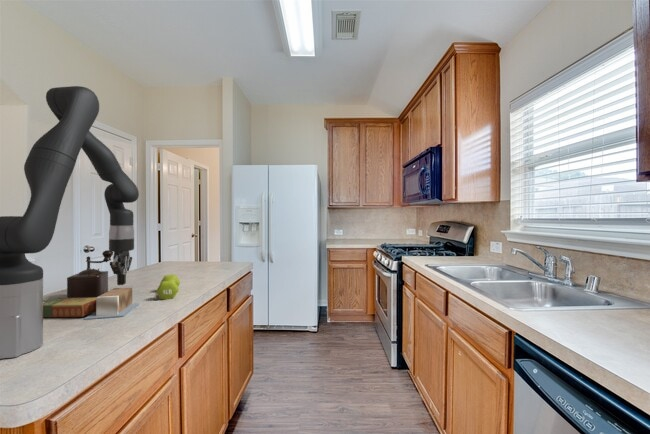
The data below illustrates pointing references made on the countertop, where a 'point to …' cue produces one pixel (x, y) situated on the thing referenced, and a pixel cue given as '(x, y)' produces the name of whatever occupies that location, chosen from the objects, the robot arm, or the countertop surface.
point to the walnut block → (113, 301)
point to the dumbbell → (168, 287)
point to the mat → (121, 314)
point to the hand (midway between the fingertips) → (121, 284)
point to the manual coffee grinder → (89, 280)
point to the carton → (69, 307)
